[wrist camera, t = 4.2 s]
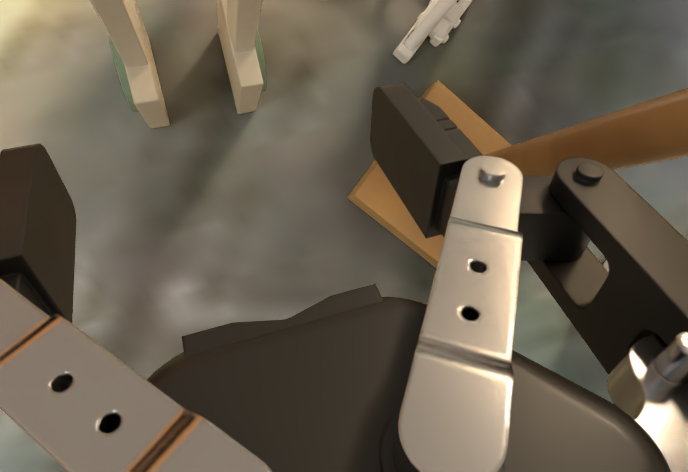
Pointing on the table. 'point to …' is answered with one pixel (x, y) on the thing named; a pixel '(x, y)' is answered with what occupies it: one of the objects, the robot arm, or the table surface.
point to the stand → (538, 153)
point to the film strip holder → (431, 26)
